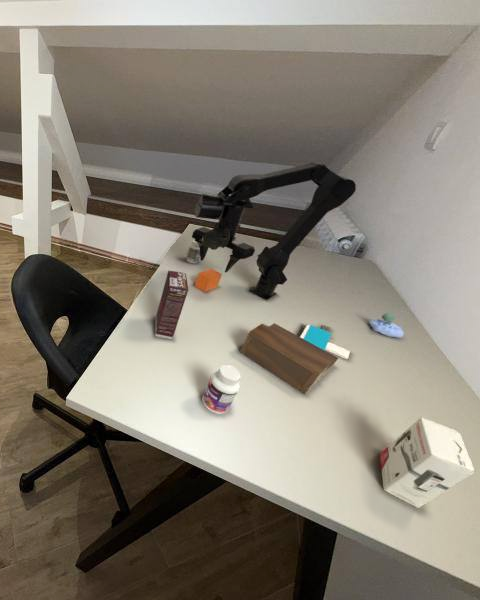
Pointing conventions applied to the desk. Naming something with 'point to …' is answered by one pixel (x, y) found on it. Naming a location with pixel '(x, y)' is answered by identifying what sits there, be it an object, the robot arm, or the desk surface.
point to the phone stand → (322, 339)
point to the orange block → (208, 280)
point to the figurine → (387, 326)
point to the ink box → (424, 462)
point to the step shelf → (287, 356)
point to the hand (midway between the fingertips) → (213, 266)
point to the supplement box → (171, 304)
